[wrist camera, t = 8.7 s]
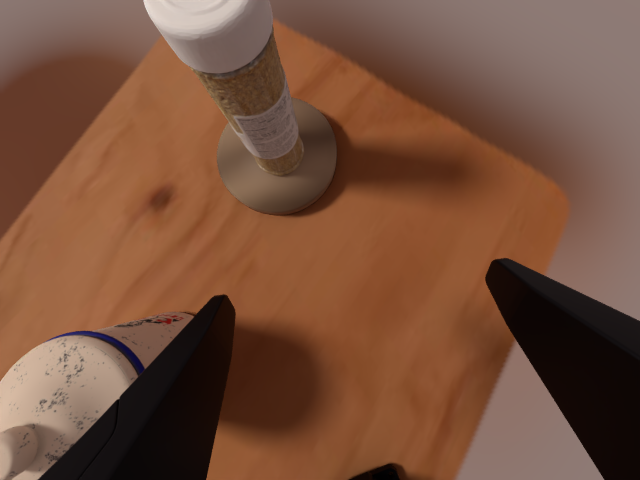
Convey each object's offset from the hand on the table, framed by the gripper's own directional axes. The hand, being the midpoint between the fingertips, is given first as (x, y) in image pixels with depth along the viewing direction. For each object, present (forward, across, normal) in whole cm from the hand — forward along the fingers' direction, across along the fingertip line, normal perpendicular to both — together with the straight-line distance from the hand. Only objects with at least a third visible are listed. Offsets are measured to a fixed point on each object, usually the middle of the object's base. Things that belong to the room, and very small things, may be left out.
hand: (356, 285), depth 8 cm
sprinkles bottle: (+17, +4, 0) cm, 17 cm away
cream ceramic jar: (+6, +17, +14) cm, 23 cm away
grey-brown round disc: (+18, +4, +1) cm, 18 cm away
